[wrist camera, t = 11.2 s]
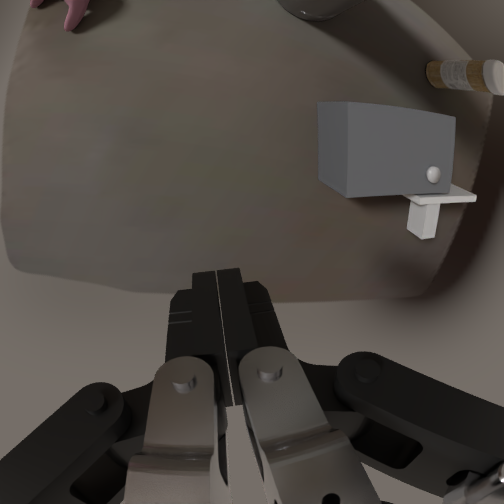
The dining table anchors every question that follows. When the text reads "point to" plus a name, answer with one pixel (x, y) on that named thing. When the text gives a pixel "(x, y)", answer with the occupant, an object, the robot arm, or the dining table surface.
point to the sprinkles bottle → (467, 75)
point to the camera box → (384, 149)
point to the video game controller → (69, 12)
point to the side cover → (432, 209)
